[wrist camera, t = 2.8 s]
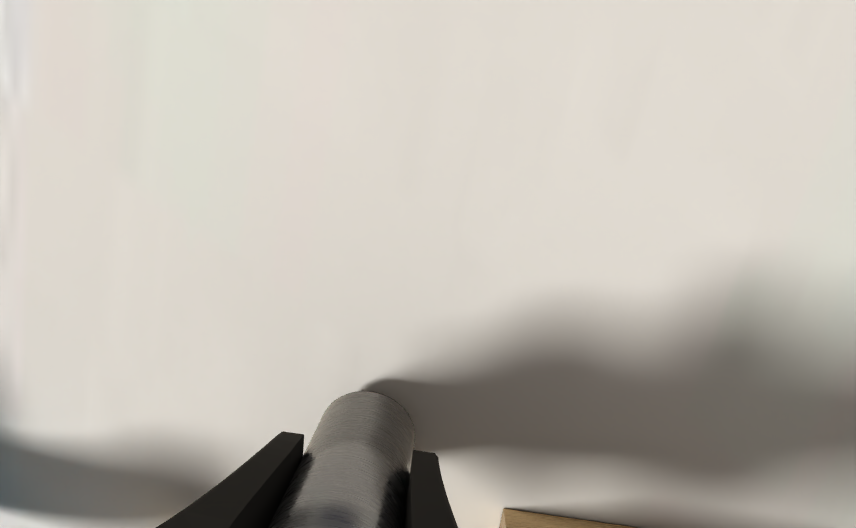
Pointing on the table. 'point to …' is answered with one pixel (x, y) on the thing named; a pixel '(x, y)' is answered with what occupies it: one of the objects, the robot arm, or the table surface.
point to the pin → (352, 468)
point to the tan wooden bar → (547, 521)
